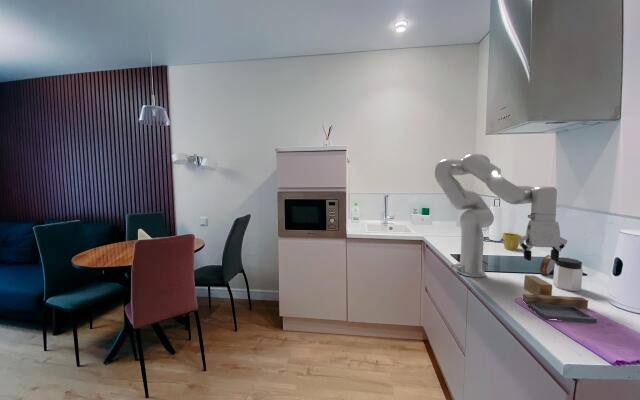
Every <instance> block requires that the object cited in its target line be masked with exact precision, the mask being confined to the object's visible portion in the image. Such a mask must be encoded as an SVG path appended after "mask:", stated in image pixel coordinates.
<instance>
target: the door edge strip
mask: <svg viewBox="0 0 640 400" xmlns="http://www.w3.org/2000/svg"><path fill="white" fill-rule="evenodd" d="M521 301H524V302H525V303H526V304H528V303H537V304H553V305H569V306H576V307H577V308H579V309H588V306H589V305H588V304H589V300H587V299H586V298H584V297H580V296H579V297H578V296H567V295H566V296H565V295H564V296H563V295H552V296H549V295H533V294H531V293H530V294H528V293H523V294H522V300H521ZM524 302H523V303H524ZM525 303H524V304H525ZM526 304H525V305H526Z"/></svg>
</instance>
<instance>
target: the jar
mask: <svg viewBox="0 0 640 400" xmlns="http://www.w3.org/2000/svg"><path fill="white" fill-rule="evenodd" d="M582 267H583V262H582V261H580V260H579V259H575V258H569V257H561V256H559V259H558V262H557V261H555V262H554V268H553V279H552V285H554V286H555V287H556V288H558V289H561V290H565V291H570V292H580V291H582V283H583V271H584V269H583V268H582Z"/></svg>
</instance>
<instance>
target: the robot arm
mask: <svg viewBox="0 0 640 400" xmlns="http://www.w3.org/2000/svg"><path fill="white" fill-rule="evenodd" d="M501 172H502V170H501V168H499V167H498V166H496V165H495V164H493V163H491V160H490V159H489V157H488V156H487V155H485V154H479V153H470V154H467V155H465V156H463V158H460V159H457V158H456V159H455V158H445V159H442V160H440V161H439V162H437V164H436V166H435V168H434V177H435V180H436V182H437V184H438V185H439V186H440V187H441V189H442V191H443V192H444V194H445V195H446V197H447V199H448V200H449V202H450V203H451V205H452V207H454V209H455V210H457V211H464V212H462V213H461V215H460V219H459V224H460V232H461V233H460V236H461V237H460V257H459V261H458V262H457V263H449V268H453V269H454V270H455V271H456V272H457V273H458V274H460V275H462V276H466V277H470V278H483V277H486V272H485V271H484V270H483V261H484V260H483V257H484V242H485V241H484V239H485V237H484V232H483V229H485V228H487V227H490V226H491V225H493V223H494V220H495V216H494V213H493V212H492V210H491V208H489V206H488V204H487V203H486V202H485V200H484V199H483V198H482V197H481V196H480V194H478V193H477V192H476V191H474V190H473V191H472V190H465V188H464V187H463V186H462V185H461V182H459V180H458V179H457V178H455V177H454V176H465V175H470V174H471V175H473V176H474V177H476V178H477V179H478V180H480V181H482V183H484V184H485V185H486V187H487V188H488V189H489V191H491V193H493V194H494V195H495V196H497V197H498V198H500V199H501V200H503V201H505V202H506V203H508V204H510V205H524V204H531V207H530V210H531V211H530V214H527V218H528V219H530V220H528V223H527V225H526V232H525V235H522V237H520V238H518V239H517V240H518V242H519V245H518V246H520V247H521V248H522V249H523V257H524V260H527V261H530V262H531V260H532V251H531V250H532V248H551V250H550V256H551V260H554V261H555V262H556V261H557V262H558V259H559V257H560V252H561V251H562V249H564V248H565V247H566V245H567V243H568V240H567V239H565V238H563V237H561V230H560V229H561V228H560V225H559V222H558V221H556V219H557V218H556V217H557V201H558V199H557V197H558V189H557V188H556V187H554V186H528V185H516V184H514V183H512V182H511V181H509V180H508V179H506V178H505V177H503V175H502V174H501ZM465 210H466V211H465ZM524 241H525V243H524Z"/></svg>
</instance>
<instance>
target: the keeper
mask: <svg viewBox="0 0 640 400" xmlns="http://www.w3.org/2000/svg"><path fill="white" fill-rule="evenodd" d="M527 308H529V309H530V308H531V309H532V310H531V309H530V310H531V311H532V312H534V311H535V312H536V313H535V312H534V313H535V314H537V315H538V316H539V317H540V318H542V319H543V320H545V321H549V320H548V319H557V320H562V321H561V322H566V321H568V322H569V323H580V324H582V323H583V324H584V323H585V324H594V323H598V318H596V317H594V316H593V315H591V314H589V313H588V312H586V311H584V310H582V308H577V307H576V306H569V305H553V304H537V303H528V305H527ZM568 322H567V323H568Z"/></svg>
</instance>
